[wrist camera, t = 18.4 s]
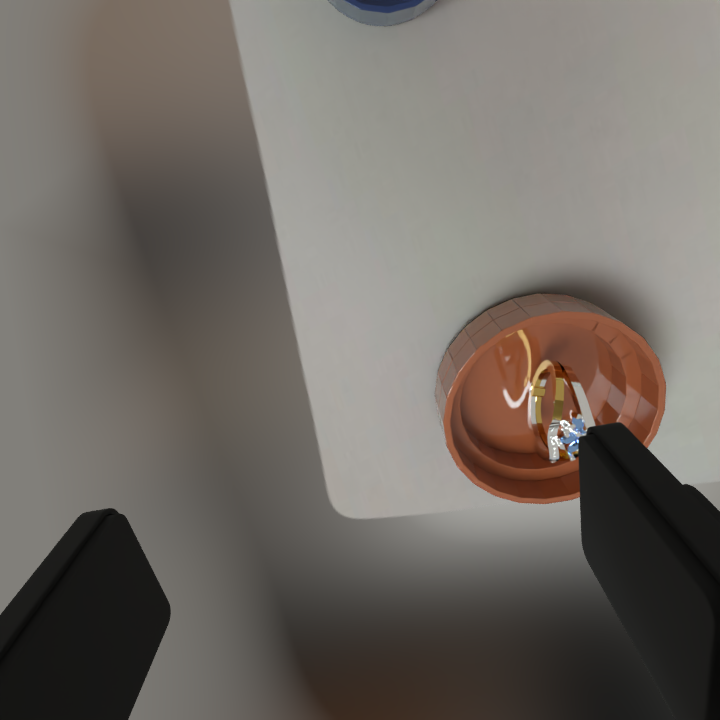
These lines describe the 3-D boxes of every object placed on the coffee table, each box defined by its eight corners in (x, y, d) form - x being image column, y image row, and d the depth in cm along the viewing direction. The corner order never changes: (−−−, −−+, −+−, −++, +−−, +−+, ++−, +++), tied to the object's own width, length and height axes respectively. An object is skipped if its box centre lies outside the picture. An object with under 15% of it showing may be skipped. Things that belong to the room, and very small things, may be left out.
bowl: (448, 477, 41) (458, 518, 36) (420, 313, 35) (429, 336, 31) (627, 448, 40) (662, 486, 35) (629, 272, 34) (670, 290, 29)
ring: (523, 343, 36) (565, 391, 28) (566, 346, 36) (618, 395, 28) (504, 424, 38) (538, 487, 31) (544, 427, 38) (586, 491, 31)
